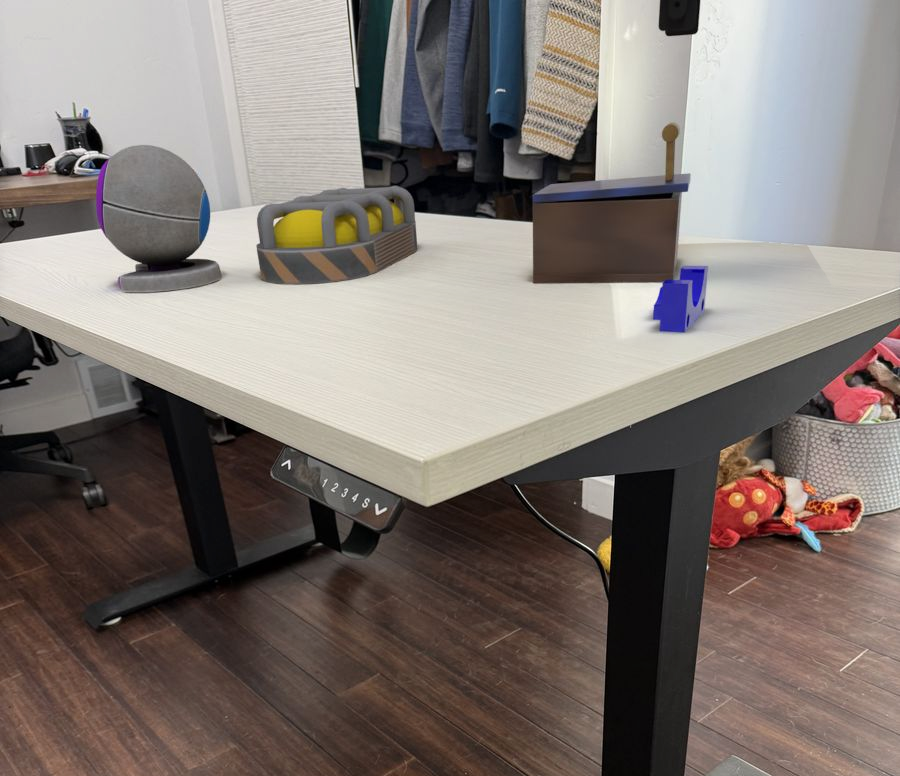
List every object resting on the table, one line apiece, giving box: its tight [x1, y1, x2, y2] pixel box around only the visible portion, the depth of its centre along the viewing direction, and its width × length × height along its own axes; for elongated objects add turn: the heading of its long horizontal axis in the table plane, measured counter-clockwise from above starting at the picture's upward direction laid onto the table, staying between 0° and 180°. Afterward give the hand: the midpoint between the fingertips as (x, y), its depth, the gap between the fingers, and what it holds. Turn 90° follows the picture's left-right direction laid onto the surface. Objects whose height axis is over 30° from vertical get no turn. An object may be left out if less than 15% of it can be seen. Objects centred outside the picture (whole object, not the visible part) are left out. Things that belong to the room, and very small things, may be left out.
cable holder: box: [652, 265, 709, 333], centre depth 71 cm, size 8×4×4 cm, turn 155°
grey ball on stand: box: [95, 144, 222, 293], centre depth 102 cm, size 13×13×15 cm
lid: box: [532, 122, 692, 204], centre depth 90 cm, size 15×12×6 cm
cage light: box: [256, 185, 418, 285], centre depth 110 cm, size 15×8×30 cm
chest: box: [532, 192, 683, 284], centre depth 93 cm, size 15×12×8 cm
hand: (678, 32), depth 82 cm, fingers open, 9 cm apart
